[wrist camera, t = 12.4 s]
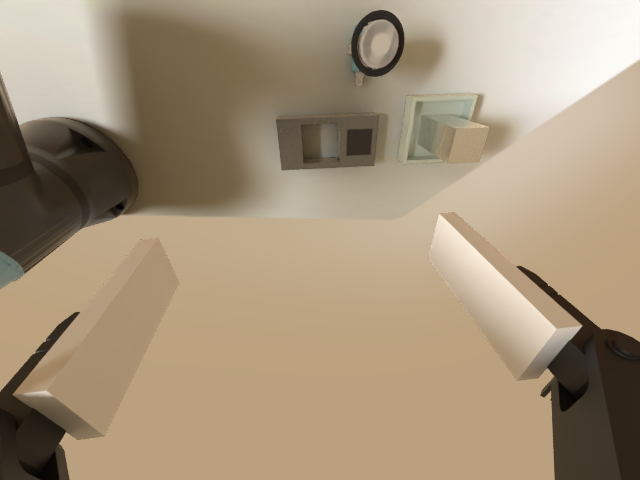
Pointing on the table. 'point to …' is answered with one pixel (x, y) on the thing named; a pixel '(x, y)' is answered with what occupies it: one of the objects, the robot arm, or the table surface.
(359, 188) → the table surface
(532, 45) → the table surface
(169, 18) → the table surface
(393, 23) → the push button
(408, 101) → the parts tray
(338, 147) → the dark gray slotted holder
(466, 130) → the block
